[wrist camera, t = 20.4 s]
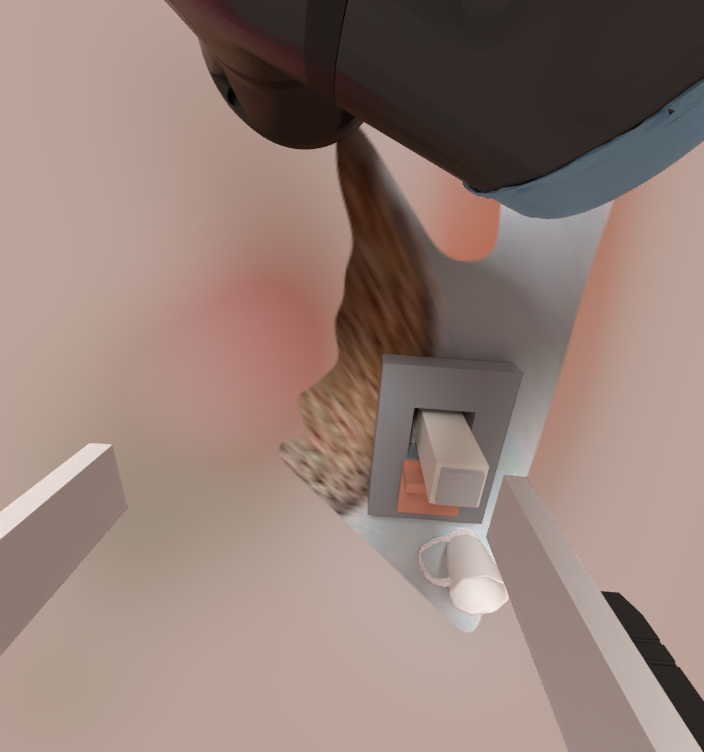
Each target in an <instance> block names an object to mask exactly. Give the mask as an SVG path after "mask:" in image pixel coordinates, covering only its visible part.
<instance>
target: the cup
mask: <svg viewBox="0 0 704 752" xmlns="http://www.w3.org/2000/svg"><path fill="white" fill-rule="evenodd" d="M442 541H444V542H447V543H448V545H447V569H448V578H436V577H434V576H433V575H432V574H431V573H430V572H429V571H428V570H427V569H426V566H425V564H424V562H423V558H422V552H423V551H424V550H425V549H427V548H428V547H430V546H432V545H433V544H435V543H438V542H442ZM418 560H419V564H420V567H421V569H422V572H423V574H424V576H425V577H426V578H427V579H428V580H429V581H430V582H431V583H433V584H435V585H438V586H443V587H449V594H450V598H451V601H452V605H453V607H454V608H456V609H458V610H460V611H463V612H465V613H467V614H470V615H477V614H485V613H492V612H495V611H496V610H497V609H498V608H500V607H501V606H502V605H503V604H504V603H505V602H506V601H508V599H509V598H508V592H507V590H506V587H505V585H504V582H503V579H502V577H501V574H500V572H499V570H498V568H497V567H496V565H495V563H494V561H493V560H492V558H491V556H490V554H489V552H488V551H487V549H486V548H485V547H484V545H483V544H482V543H481V541H480V540H479V539H478V538H477V534H476V532H474V531H472V530H470V529H468V528H462V529H456V530H453V531H452V532H451V533H450V534H449V535H448V536H444V535H442V536H439V537H436V538H434V539H432V540H430V541H428V542H426V543H425V544H424V545H423V546H422V547H421V549H420V552H419V558H418Z"/></svg>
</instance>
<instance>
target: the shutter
mask: <svg viewBox="0 0 704 752" xmlns="http://www.w3.org/2000/svg"><path fill="white" fill-rule="evenodd" d="M459 507H460V506H448V505H436V504H433V503H429V500H428V496H427V491H426V487H425V482H424V478H423V473H422V469H421V464H420V460H410V459H404V461H403V468H402V474H401V481H400V488H399V495H398V502H397V512H406V513H419V514H431V515H444V516H456V517H457V516H458V511H459Z"/></svg>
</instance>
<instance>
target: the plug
mask: <svg viewBox="0 0 704 752" xmlns="http://www.w3.org/2000/svg"><path fill="white" fill-rule="evenodd" d="M415 442H416V446H417V451H418V455H419V460H420V464H421V469H422V473H423V478H424V482H425V487H426V491H427V496H428V500H429V503H433V504H436V505H448V506H461V507H473V508H477V507H479V504H480V500H481V496H482V492H483V488H484V485H485V481H486V477H487V473H488V470H489V465H488V463H487V461H486V459H485V457H484V455H483V453H482V452H481V450H480V448H479V446H478V444H477V442H476V440H475V438H474V436H473V434H472V432H471V430H470V428H469V426H468V424H467V422H466V420H465V418H464V416H463V414H462V412H461V411H452V410H438V409H425V408H419V411H418V417H417V424H416V430H415Z"/></svg>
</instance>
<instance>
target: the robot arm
mask: <svg viewBox="0 0 704 752" xmlns="http://www.w3.org/2000/svg"><path fill="white" fill-rule="evenodd" d="M165 1H166V2H167V4H168V5H169V6H170V7H171V8H172V9H173V10H174V11H175V12H176V13H177V15H178V16H179V17H180V18H181V19H182V20H183V21H184V22H185V23H186V24H187V26H188V27H189V28H190V29H191V30H192V31H193V32H194V33H195V34H196V36H197V37H198V39H199V43H200V46H201V50H202V54H203V57H204V60H205V63H206V65H207V68H208V70H209V73H210V75H211V77H212V79H213V81H214V83H215V84H216V87H217V88H218V90H219V92H220V93H221V95H222V96H223V98H224V99H225V101H226V102H227V103H228V105H229V106H230V107H231V109H232V110H233V111H234V112H235V113H236V114H237V115H238V116H239V117H240V118H241V119H242V120H243V121H244V122H245V123H246V124H247V125H249V126H250V127H251V128H252V129H253V130H254V131H256V132H257V133H259V134H260V135H261V136H263V137H264V138H266V139H268V140H270V141H272V142H274V143H276V144H279V145H281V146H285V147H289V148H294V149H317V148H322V147H326V146H329V145H331V144H334V143H336V142H338V141H340V140H342V139H344V138H345V137H347V136H348V135H350V134H351V133H352V132H354V131H355V130H356V129H357V128H358V127H359V126H360V125H361V124H362V123H363V122H365V123H367V124H369V125H370V126H372V127H374V128H375V129H377V130H379V131H380V132H382V133H383V134H385V135H387V136H388V137H390V138H392V139H393V140H395V141H397V142H398V143H400V144H402V145H403V146H405V147H407V148H408V149H410V150H412V151H413V152H415V153H417V154H418V155H420V156H422V157H423V158H425V159H427V160H428V161H430V162H432V163H433V164H435V165H437V166H438V167H440V168H442V169H443V170H445V171H447V172H448V173H450V174H452V175H453V176H455V177H457V178H458V179H460V180H462V181H463V185H464V187H465V188H466V189H467V190H468V191H470V192H471V193H473V194H474V195H477V196H482V197H485V198H492V199H494V200H495V201H497V202H499V203H501V204H503V205H505V206H507V207H508V208H510V209H512V210H514V211H516V212H518V213H520V214H522V215H524V216H527V217H531V218H533V217H535V218H543V219H558V218H563V217H568V216H572V215H576V214H580V213H583V212H586V211H588V210H591V209H594V208H596V207H598V206H601V205H603V204H605V203H607V202H610V201H612V200H614V199H616V198H618V197H619V196H621V195H623V194H625V193H627V192H629V191H630V190H632V189H634V188H636V187H637V186H639V185H641V184H643V183H644V182H646V181H647V180H649V179H651V178H652V177H654V176H655V175H657V174H658V173H660V172H662V171H663V170H665V169H666V168H667V167H669V166H670V165H672V164H673V163H675V162H676V161H677V160H679V159H680V158H682V157H683V156H684V155H685V154H687V153H688V152H690V151H691V150H692V149H694V148H695V147H696V146H698V145H699V144H700V143H701V142H703V141H704V0H165ZM126 509H127V503H126V499H125V495H124V491H123V487H122V483H121V479H120V475H119V471H118V466H117V463H116V458H115V454H114V450H113V446H112V445H108V444H96V443H89V444H88V445H87V446H85V447H84V448H83V449H81V450H80V451H79V452H78V453H76V454H75V455H74V456H72V457H71V458H70V459H69V460H67V461H66V462H65V463H63V464H62V465H61V466H59V467H58V468H57V469H56V470H54V471H53V472H52V473H50V474H49V475H48V476H46V477H45V478H44V479H43V480H41V481H40V482H39V483H37V484H36V485H35V486H33V487H32V488H31V489H30V490H28V491H27V492H26V493H24V494H23V495H22V496H20V497H19V498H18V499H17V500H15V501H14V502H13V503H11V504H10V505H9V506H7V507H6V508H5V509H4V510H2V511H1V512H0V656H1V655H2V653H3V652H4V651H5V650H6V649H7V648H8V647H9V645H10V644H11V643H12V642H13V641H14V639H15V638H16V637H17V636H18V635H19V634H20V633H21V631H22V630H23V629H24V628H25V627H26V626H27V624H28V623H29V622H30V621H31V620H32V619H33V618H34V616H35V615H36V614H37V613H38V611H40V609H41V608H42V607H43V606H44V605H45V603H46V602H47V601H48V600H49V599H50V598H51V597H52V595H53V594H54V593H55V592H56V591H57V589H58V588H59V587H60V586H61V585H62V584H63V583H64V581H65V580H66V579H67V578H68V577H69V576H70V574H71V573H72V572H73V571H74V570H75V569H76V568H77V566H78V565H79V564H80V563H81V562H82V560H83V559H84V558H85V557H86V556H87V555H88V554H89V552H90V551H91V550H92V549H93V548H94V547H95V545H96V544H97V543H98V542H99V541H100V540H101V538H102V537H103V536H104V535H105V534H106V532H107V531H108V530H109V529H110V528H111V527H112V526H113V524H114V523H115V522H116V521H117V520H118V519H119V517H120V516H121V515H122V514H123V513H124V512H125V511H126ZM486 538H487V540H488V543H489V545H490V548H491V551H492V553H493V556H494V558H495V561H496V564H497V566H498V569H499V571H500V574H501V577H502V579H503V582H504V585H505V587H506V590H507V592H508V595H509V598H510V600H511V603H512V605H513V608H514V611H515V613H516V616H517V618H518V621H519V624H520V626H521V629H522V631H523V634H524V637H525V639H526V642H527V645H528V647H529V650H530V652H531V655H532V658H533V660H534V663H535V666H536V668H537V671H538V673H539V676H540V679H541V681H542V684H543V686H544V689H545V691H546V694H547V697H548V699H549V702H550V705H551V707H552V710H553V712H554V715H555V718H556V720H557V723H558V725H559V728H560V730H561V733H562V736H563V739H564V741H565V744H566V746H567V749H568V752H704V701H703V700H702V698H701V697H700V695H699V694H698V693H697V691H696V690H695V688H694V687H693V686H692V684H691V683H690V681H689V680H688V678H687V677H686V676H685V674H684V673H683V671H682V670H681V669H680V667H677V666H676V664H675V660H674V659H673V657H672V656H671V655H670V653H669V652H668V650H667V649H666V647H665V646H664V645H662V644H661V643H660V639H659V638H658V636H657V635H656V633H655V632H654V631H653V629H652V628H651V626H650V625H649V623H648V622H647V621H646V619H645V618H644V616H643V615H642V614H641V613H640V612H639V611H638V610H637V609H636V608H635V607H634V606H632V605H631V604H630V603H629V602H628V601H627V600H626V599H625V598H624V597H623V596H622V595H621V594H619V593H616V592H603V591H600V590H599V589H598V587H597V586H596V584H595V582H594V581H593V579H592V578H591V576H590V575H589V573H588V571H587V570H586V568H585V567H584V565H583V564H582V562H581V561H580V559H579V557H578V556H577V554H576V553H575V551H574V550H573V548H572V546H571V545H570V543H569V542H568V540H567V539H566V537H565V536H564V534H563V532H562V531H561V529H560V528H559V526H558V524H557V523H556V522H555V520H554V518H553V517H552V515H551V514H550V512H549V510H548V509H547V507H546V506H545V504H544V503H543V501H542V499H541V498H540V497H539V495H538V493H537V492H536V490H535V489H534V487H533V485H532V484H531V482H530V481H529V479H528V478H527V477H519V476H507V475H504V477H503V480H502V484H501V487H500V491H499V494H498V498H497V501H496V505H495V508H494V512H493V515H492V519H491V522H490V526H489V529H488V533H487V536H486Z"/></svg>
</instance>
